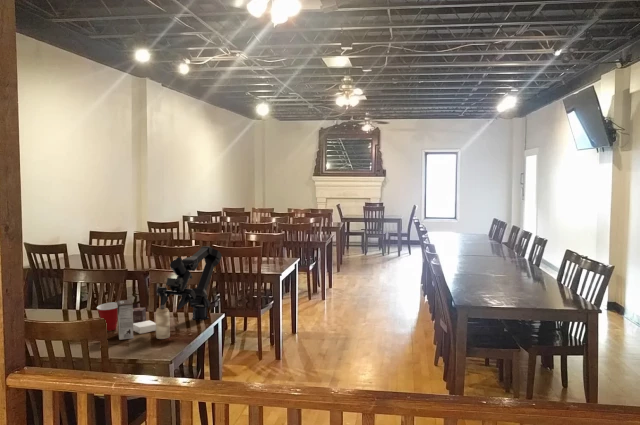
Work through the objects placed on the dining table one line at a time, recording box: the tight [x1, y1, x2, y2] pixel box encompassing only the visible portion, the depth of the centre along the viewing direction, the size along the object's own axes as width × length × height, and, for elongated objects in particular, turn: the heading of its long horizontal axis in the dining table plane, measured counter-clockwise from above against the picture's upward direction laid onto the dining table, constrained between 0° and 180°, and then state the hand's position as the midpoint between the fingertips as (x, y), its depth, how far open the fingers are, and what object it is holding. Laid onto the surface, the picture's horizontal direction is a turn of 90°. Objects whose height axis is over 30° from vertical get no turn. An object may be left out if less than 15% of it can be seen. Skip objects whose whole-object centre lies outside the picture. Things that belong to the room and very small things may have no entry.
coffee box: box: [116, 299, 134, 341], centre depth 243 cm, size 9×6×16 cm
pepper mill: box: [155, 305, 171, 340], centre depth 242 cm, size 6×6×15 cm
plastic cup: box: [96, 302, 118, 332], centre depth 255 cm, size 11×11×12 cm
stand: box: [133, 320, 156, 334], centre depth 254 cm, size 9×9×3 cm
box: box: [133, 307, 147, 323], centre depth 266 cm, size 6×6×7 cm
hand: (169, 308), depth 247 cm, fingers open, 9 cm apart
